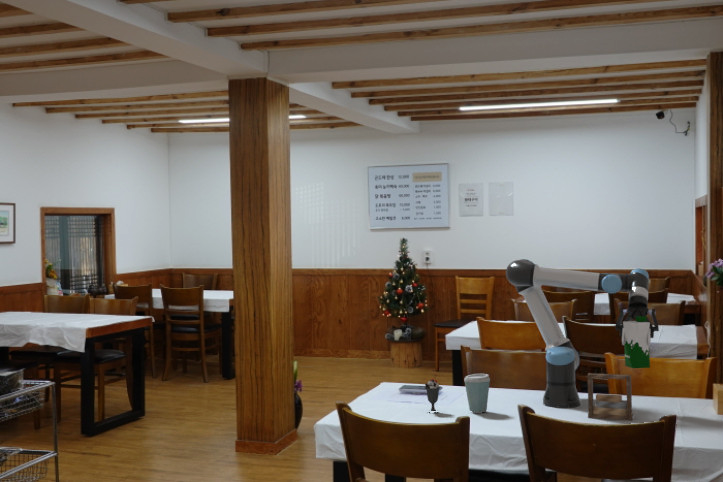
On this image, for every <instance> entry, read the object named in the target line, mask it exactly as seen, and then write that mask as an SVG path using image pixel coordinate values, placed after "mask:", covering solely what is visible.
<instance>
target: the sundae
mask: <svg viewBox="0 0 723 482" xmlns="http://www.w3.org/2000/svg"><path fill="white" fill-rule="evenodd" d="M436 377H437V374H434V377H433V378H431V379H430V380H428V382H426V383H424V385H425V386H424V389H425V390H426V397H427V401H428V402H429V403H430V404H431V408H430V410H431V411H436V408H435V404H436V403H437V402H438V401H439V400H438V399H439V393H440V389H441V386H440V385H439V383H438V380H437V378H436Z"/></svg>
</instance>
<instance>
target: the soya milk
mask: <svg viewBox="0 0 723 482" xmlns="http://www.w3.org/2000/svg"><path fill="white" fill-rule="evenodd" d="M646 316H647V315H646ZM646 316H636V319H635V320H632V321H628V322H624V321H622V323H623V326H624V339H625V343H624V345H623V346H624V366H625V367H628V368H630V369H650V368H651V363H650V362H651V359H650V357H651V355H650V346H648V332H649V326H650V323H651V321H650V322H647V321H646Z"/></svg>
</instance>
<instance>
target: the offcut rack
mask: <svg viewBox="0 0 723 482" xmlns="http://www.w3.org/2000/svg"><path fill="white" fill-rule="evenodd" d="M594 379H612V380H625V384H626V389H625V390H626V400H625V399H623V396H622V394H607V393H606V394H603V393H597V394H596V395H595V404H594ZM632 401H633V398H632V375H631V374H617V373H616V374H614V373H613V374H612V373H591V372H588V373H587V402H588V403H587V405H588V406H587V407H588V414H587V419H601V420H614V421H615V420H616V421H627V422H628V421H629V422H630V421H631V422H633V419H634V413H633V406H632V405H633V402H632Z"/></svg>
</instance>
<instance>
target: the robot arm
mask: <svg viewBox="0 0 723 482" xmlns="http://www.w3.org/2000/svg"><path fill="white" fill-rule="evenodd" d="M505 276H506V280H507V281H508V282H509V283H510V284H511V285H513V286H514V288H515V289H516V291H517V293H518V294H519V295H521V296H522V297H523V298H524V301H525V302H526V304H527V307H528V309H529V311H530V314H531V315H532V318H533V319H534V322H535V324H536V326H537V328H538V330H539V332H540V334H541V337H542V339H543V341H544V342H545V346H546V347H545V349H544V351H545V353H546V354H545V363H546V387H545V391H544V393H543V398H542V405H544V404H545V405H544V406H546V405H548V406H547V407H551V406H552V407H554V408H574V407H575V408H576V407H579V406H580V405H581V399H580V396H579V393H578V392H579V391H578V389H577V388H576V370H578V368H579V366H580V363H581V362H580V354H579V352H578V351H577V350H576V349H575V348H574V346H573V344H572V342H571V340H570V339H569V338H568V337H565V335H564V334H563V331H562V329H561V327H560V324H559V323H558V320H557V318H556V317H555V314H554V312H553V310H552V308H551V306H550V304H549V302H548V300H547V297H546V295H545V294H544V291H543V289H542V286H549V287H555V288H556V287H557V288H565V289H566V288H567V289H576V290H585V291H592V292H593V291H594V292H603V293H608V294H616V293H618V292H628V305H627V308H626V309H623V307H622V308H620V309H619V314H618V318H617V320H616V322H615V325H614V326H615V330H616V331H618V332H619V338H621V345H622V346H624V343H625V339H624V326H623V322H628V321H634V320H636V316H646V321H647V322H650V326H649V332H648V346H649V347H651V343H652V342H651V339H654V336H655V332H659V329H660V327H659V324H658V320H657V316H656V312H657V311H656V309H655V308H652V309H649V305H648V304H649V301H648V300H649V287H650V286H649V285H650V284H649V283H650V279H649V278H650V275H649V273H648V271H647V270H645V269H644V268H641V267H640V268H639V267H638V268H635V269H632V270H631V272H630V273H614V272H613V273H611V272H607V273H606V272H605V273H600V272H591V271H582V270H581V271H580V270H572V269H571V270H569V269H564V268H563V269H562V268H555V267H554V268H553V267H543V266H539V265H538V264H536V263H534V262H533V261H531V260H529V259H523V258H522V259H516V260H513V261H511V262H510V263H509V264H508V265H507V267H506V269H505ZM648 314H649V316H650V317H651V319H652V322H653V324H652V323H651V321H650V320H649V318H648V317H647V316H648ZM626 315H627V316H626ZM625 316H626V318H625V319H624V317H625Z"/></svg>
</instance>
